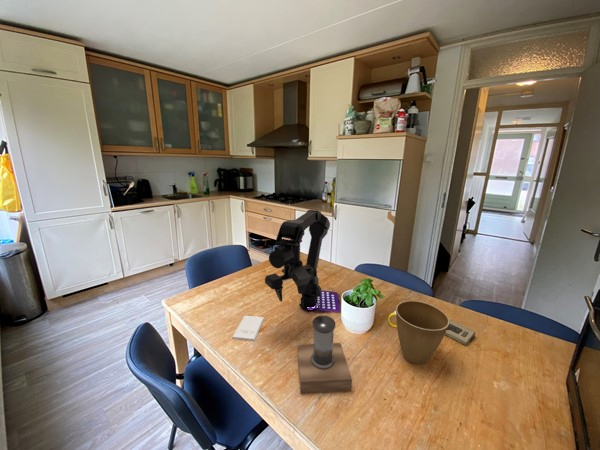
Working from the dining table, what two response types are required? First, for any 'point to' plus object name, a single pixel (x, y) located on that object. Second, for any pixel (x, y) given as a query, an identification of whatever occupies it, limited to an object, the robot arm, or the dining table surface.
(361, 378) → the dining table surface
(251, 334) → the external hard drive
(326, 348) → the cylinder
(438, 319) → the brown hollow tapered container
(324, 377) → the stand
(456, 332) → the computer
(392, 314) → the watch
